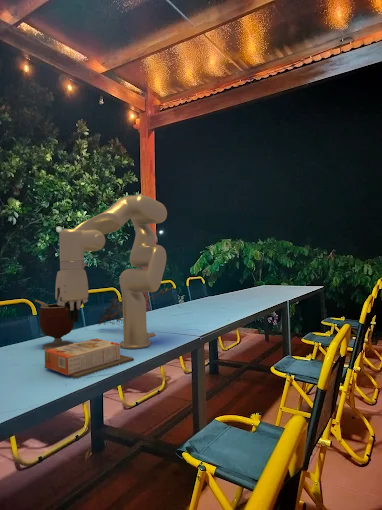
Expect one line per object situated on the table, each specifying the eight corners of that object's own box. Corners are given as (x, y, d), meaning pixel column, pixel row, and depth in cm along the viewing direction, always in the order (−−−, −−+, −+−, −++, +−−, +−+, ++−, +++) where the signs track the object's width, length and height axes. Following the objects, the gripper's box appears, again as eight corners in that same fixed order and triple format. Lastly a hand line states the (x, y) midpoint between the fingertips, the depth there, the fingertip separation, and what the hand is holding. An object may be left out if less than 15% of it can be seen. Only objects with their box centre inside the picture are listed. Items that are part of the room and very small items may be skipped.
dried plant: (68, 297, 173) (137, 257, 154) (112, 296, 200) (175, 261, 182) (85, 359, 165) (161, 324, 146) (128, 348, 192) (196, 318, 173)
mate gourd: (74, 340, 159) (73, 295, 159) (76, 348, 146) (75, 299, 146) (36, 344, 153) (35, 298, 153) (35, 352, 140) (33, 301, 140)
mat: (101, 352, 139) (101, 349, 139) (133, 360, 127) (133, 357, 127) (44, 367, 121) (44, 365, 121) (76, 378, 109) (76, 376, 109)
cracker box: (43, 349, 118) (96, 337, 134) (44, 367, 118) (97, 353, 134) (67, 356, 109) (121, 342, 125) (67, 376, 109) (121, 360, 125)
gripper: (84, 265, 127) (86, 317, 127) (45, 267, 116) (46, 324, 116) (97, 265, 123) (99, 319, 123) (57, 267, 111) (58, 326, 111)
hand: (73, 321), depth 119 cm, fingers closed
